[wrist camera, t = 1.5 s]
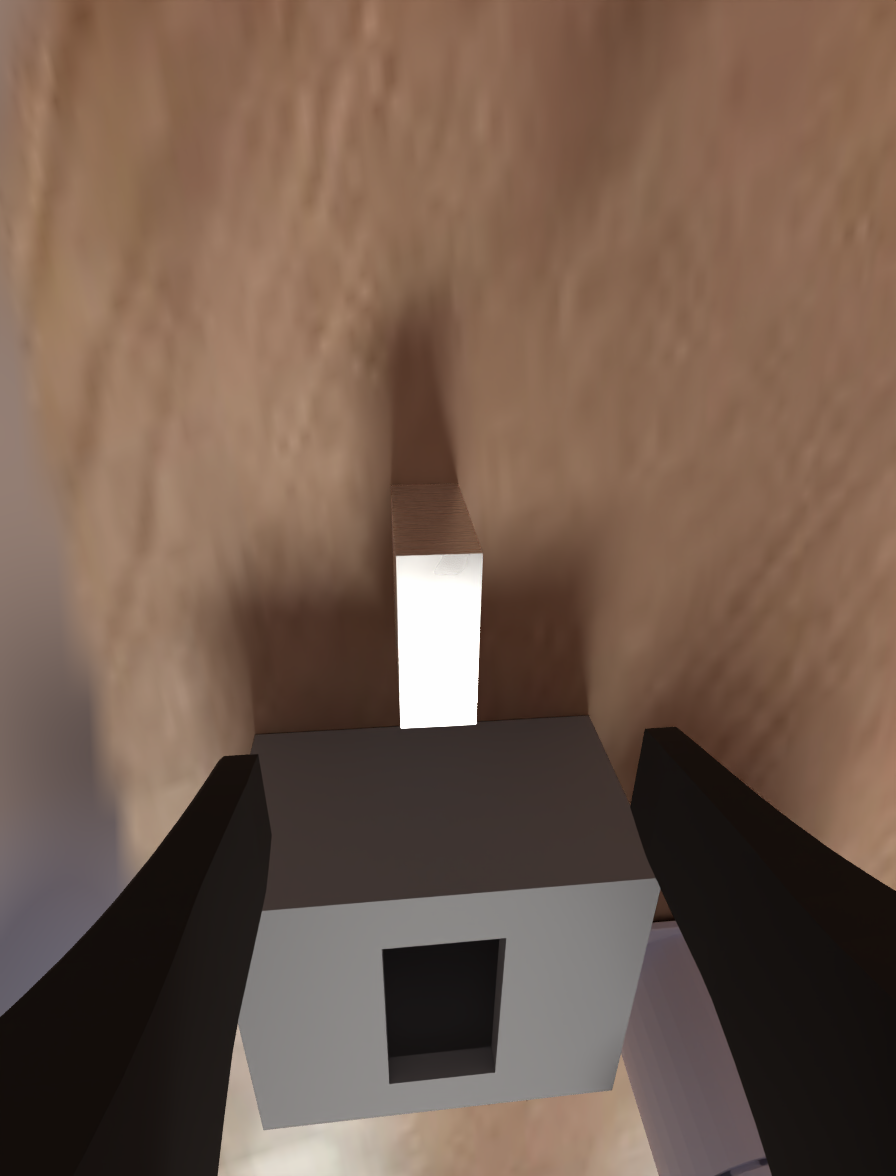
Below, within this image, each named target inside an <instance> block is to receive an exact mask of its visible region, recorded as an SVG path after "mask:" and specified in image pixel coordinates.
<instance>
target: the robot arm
mask: <svg viewBox="0 0 896 1176" xmlns="http://www.w3.org/2000/svg"><path fill="white" fill-rule="evenodd" d="M630 808H631V812H632V815H633V818H634V821H635V824H636V828H637V831H638V834H639V837H640V840H641V843H642V846H643V849H644V852H645V855H646V858H647V860H648V862H649V865H650V867H651V869H652V871H653V873H654V876H655V878H656V880H657V882H658V884H659V886H660V889H661V891H662V893H663V895H664V897H665V899H666V901H667V904H668V906H669V908H670V910H671V912H672V914H673V916H674V918H675V921H665V922H654V923H652V926H651V930H650V934H649V939H648V943H647V947H646V951H645V955H644V959H643V963H642V968H641V972H640V976H639V980H638V984H637V988H636V993H635V997H634V1001H633V1005H632V1009H631V1013H630V1017H629V1022H628V1026H627V1030H626V1034H625V1038H624V1042H623V1046H622V1051H621V1054H622V1057H623V1060H624V1064H625V1067H626V1070H627V1073H628V1077H629V1080H630V1083H631V1086H632V1090H633V1093H634V1096H635V1099H636V1103H637V1106H638V1109H639V1112H640V1116H641V1119H642V1122H643V1125H644V1129H645V1132H646V1135H647V1138H648V1142H649V1145H650V1148H651V1151H652V1155H653V1158H654V1161H655V1164H656V1168H657V1171H658V1174H659V1176H896V891H895V890H893V889H891V888H890V887H888V886H886V885H885V884H883V883H882V882H880V881H879V880H877V879H875V878H874V877H872V876H871V875H869V874H868V873H866V872H865V871H863V870H861V869H860V868H858V867H857V866H855V865H854V864H852V863H851V862H849V861H847V860H846V859H844V858H843V857H841V856H840V855H838V854H837V853H836V852H834V851H833V850H831V849H830V848H828V847H827V846H825V845H824V844H823V843H821V842H820V841H818V840H817V839H816V838H814V837H813V836H812V835H810V834H809V833H807V832H806V831H805V830H803V829H802V828H801V827H799V826H798V825H796V824H795V823H794V822H792V821H791V820H790V819H788V818H787V817H786V816H785V815H783V814H782V813H781V812H779V811H778V810H777V809H775V808H774V807H773V806H772V805H770V804H769V803H768V802H766V801H765V800H764V799H763V798H761V797H760V796H759V795H758V794H756V793H755V792H754V791H753V790H751V789H750V788H749V787H748V786H747V785H745V784H744V783H743V782H742V781H740V780H739V779H738V778H737V777H736V776H734V775H733V774H732V773H731V772H730V771H728V770H727V769H726V768H725V767H724V766H722V765H721V764H720V763H719V762H718V761H716V760H715V759H714V758H713V757H712V756H711V755H709V754H708V753H707V752H706V751H705V750H703V749H702V748H701V747H700V746H699V745H698V744H696V743H695V742H694V741H693V740H692V739H690V738H689V737H688V736H687V735H685V734H684V733H683V732H682V731H680V730H679V729H678V728H677V727H666V728H651V729H645V731H644V737H643V742H642V747H641V753H640V758H639V764H638V769H637V774H636V780H635V785H634V790H633V796H632V801H631V806H630ZM271 839H272V833H271V827H270V821H269V815H268V809H267V803H266V797H265V791H264V785H263V779H262V773H261V767H260V761H259V755H258V754H251V755H235V756H224V757H222V758H221V759H220V760H219V761H218V763H217V764H216V766H215V767H214V769H213V770H212V772H211V774H210V775H209V777H208V778H207V780H206V781H205V783H204V784H203V786H202V787H201V789H200V790H199V792H198V793H197V794H196V796H195V797H194V799H193V800H192V802H191V803H190V805H189V806H188V807H187V809H186V810H185V812H184V813H183V814H182V816H181V817H180V819H179V820H178V821H177V823H176V824H175V825H174V827H173V828H172V829H171V831H170V832H169V833H168V835H167V836H166V837H165V839H164V840H163V842H162V843H161V844H160V846H159V847H158V848H157V850H156V851H155V852H154V853H153V855H152V856H151V857H150V859H149V860H148V861H147V862H146V864H145V865H144V866H143V867H142V868H141V870H140V871H139V872H138V873H137V874H136V876H135V877H134V878H133V879H132V881H131V882H130V883H129V884H128V885H127V887H126V888H125V889H124V890H123V892H122V893H121V894H120V895H119V896H118V898H117V899H116V900H115V901H114V902H113V903H112V905H111V906H110V907H109V908H108V909H107V910H106V911H105V912H104V914H103V915H102V916H101V917H100V918H99V919H98V920H97V921H96V923H95V924H94V925H93V926H92V927H91V928H90V929H89V930H88V931H87V932H86V934H85V935H84V936H82V938H81V939H80V940H79V941H78V942H77V943H76V944H75V945H74V946H73V947H72V948H71V949H70V950H69V951H68V952H67V953H66V954H65V955H64V957H62V958H61V959H60V960H59V962H57V963H56V964H55V965H54V966H53V967H52V968H51V969H50V970H49V971H48V972H47V973H46V974H45V975H44V976H43V977H42V978H41V979H40V980H39V981H38V982H37V983H36V984H35V985H34V986H33V987H32V988H31V989H30V990H29V991H28V992H27V993H26V994H25V995H24V996H23V997H21V998H20V999H19V1000H18V1001H17V1002H16V1003H15V1004H14V1005H13V1006H12V1007H11V1008H10V1009H9V1010H8V1011H6V1012H5V1013H4V1014H3V1015H2V1016H1V1017H0V1176H217V1175H218V1166H219V1158H220V1149H221V1140H222V1132H223V1123H224V1115H225V1107H226V1099H227V1091H228V1084H229V1076H230V1068H231V1060H232V1053H233V1047H234V1041H235V1036H236V1030H237V1024H238V1019H239V1015H240V1010H241V1005H242V1001H243V996H244V992H245V987H246V983H247V978H248V973H249V969H250V964H251V960H252V955H253V951H254V946H255V941H256V937H257V932H258V927H259V923H260V918H261V913H262V909H263V904H264V899H265V894H266V888H267V879H268V870H269V860H270V850H271Z"/></svg>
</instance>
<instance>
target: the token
mask: <svg viewBox="0 0 896 1176" xmlns="http://www.w3.org/2000/svg"><path fill="white" fill-rule="evenodd" d="M391 513H392V546H393V579H394V612H395V638H396V655H397V672H398V689H399V706H400V723H401V728H417V727H435V726H452V725H470V724H476V714H477V689H478V664H479V639H480V614H481V589H482V564H483V552H482V549H481V546H480V544H479V541H478V538H477V535H476V532H475V530H474V527H473V524H472V521H471V518H470V515H469V513H468V510H467V507H466V504H465V501H464V498H463V496H462V493H461V490H460V487H459V484H458V483H449V484H405V485H391Z"/></svg>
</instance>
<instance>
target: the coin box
mask: <svg viewBox="0 0 896 1176" xmlns="http://www.w3.org/2000/svg"><path fill="white" fill-rule="evenodd" d="M251 754H258V755H259V761H260V767H261V773H262V779H263V785H264V791H265V797H266V803H267V809H268V815H269V821H270V827H271V833H272V839H271V850H270V860H269V870H268V879H267V888H266V894H265V899H264V904H263V909H262V913H261V918H260V923H259V927H258V932H257V937H256V941H255V946H254V951H253V955H252V960H251V964H250V969H249V973H248V978H247V983H246V987H245V992H244V996H243V1001H242V1005H241V1010H240V1015H239V1019H238V1025H239V1029H240V1033H241V1037H242V1042H243V1046H244V1050H245V1054H246V1059H247V1063H248V1067H249V1071H250V1075H251V1080H252V1084H253V1088H254V1092H255V1096H256V1101H257V1105H258V1109H259V1113H260V1117H261V1122H262V1126H263V1130H269V1129H278V1128H287V1127H296V1126H304V1125H313V1124H322V1123H330V1122H339V1121H348V1120H356V1119H365V1118H374V1117H383V1116H391V1115H400V1114H409V1113H417V1112H426V1111H435V1110H444V1109H452V1108H461V1107H470V1106H478V1105H487V1104H496V1103H505V1102H513V1101H522V1100H531V1099H539V1098H548V1097H557V1096H566V1095H574V1094H583V1093H592V1092H600V1091H609V1090H612V1088H613V1084H614V1080H615V1075H616V1071H617V1067H618V1063H619V1059H620V1055H621V1051H622V1046H623V1042H624V1038H625V1034H626V1030H627V1026H628V1022H629V1017H630V1013H631V1009H632V1005H633V1001H634V997H635V993H636V988H637V984H638V980H639V976H640V972H641V968H642V963H643V959H644V955H645V951H646V947H647V943H648V939H649V934H650V930H651V926H652V922H653V918H654V914H655V910H656V905H657V901H658V897H659V893H660V886H659V884H658V882H657V880H656V878H655V876H654V873H653V871H652V869H651V867H650V865H649V862H648V860H647V858H646V855H645V852H644V849H643V846H642V843H641V840H640V837H639V834H638V831H637V828H636V824H635V821H634V818H633V815H632V812H631V808H630V804H629V802H628V800H627V798H626V795H625V793H624V791H623V789H622V787H621V785H620V782H619V780H618V778H617V776H616V774H615V772H614V769H613V767H612V765H611V763H610V761H609V758H608V756H607V754H606V752H605V750H604V748H603V745H602V743H601V741H600V739H599V737H598V734H597V732H596V730H595V728H594V726H593V724H592V721H591V719H590V717H589V715H588V716H571V717H554V718H537V719H519V720H502V721H485V722H476V724H470V725H452V726H435V727H417V728H401V726H399V727H381V728H364V729H347V730H330V731H312V732H295V733H278V734H261V735H255V736H254V741H253V745H252V749H251V753H250V755H251Z"/></svg>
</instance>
